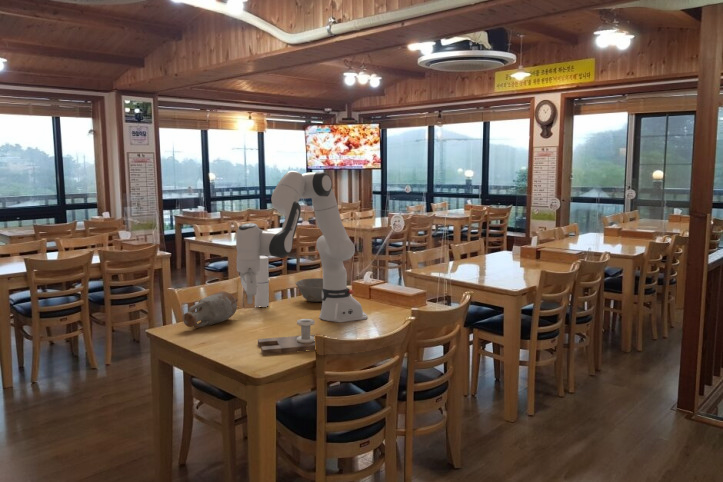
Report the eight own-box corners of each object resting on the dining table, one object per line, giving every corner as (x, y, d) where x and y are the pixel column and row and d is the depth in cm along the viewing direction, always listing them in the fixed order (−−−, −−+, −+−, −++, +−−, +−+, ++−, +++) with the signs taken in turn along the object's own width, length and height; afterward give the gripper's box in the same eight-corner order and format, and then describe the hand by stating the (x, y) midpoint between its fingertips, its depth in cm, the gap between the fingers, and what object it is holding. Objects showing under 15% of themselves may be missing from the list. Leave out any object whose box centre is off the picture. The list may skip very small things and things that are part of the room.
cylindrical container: (265, 308, 287) (265, 258, 284) (252, 307, 289) (251, 258, 285) (270, 305, 294) (270, 256, 291) (257, 304, 295) (257, 255, 292)
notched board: (316, 339, 238) (316, 334, 238) (324, 349, 225) (324, 344, 224) (257, 343, 231) (257, 339, 230) (262, 354, 217) (262, 349, 217)
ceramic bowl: (343, 297, 314) (343, 279, 312) (331, 307, 292) (331, 287, 290) (304, 294, 319) (304, 276, 317) (289, 304, 296) (289, 285, 295)
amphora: (248, 290, 269) (197, 289, 244) (248, 325, 267) (197, 328, 242) (227, 292, 276) (175, 291, 251) (227, 326, 274) (175, 328, 249)
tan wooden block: (253, 305, 225) (253, 290, 224) (254, 308, 221) (254, 292, 220) (243, 306, 224) (242, 291, 223) (244, 308, 220) (243, 293, 219)
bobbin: (312, 337, 234) (312, 318, 233) (316, 342, 227) (316, 322, 226) (295, 338, 231) (295, 319, 230) (298, 344, 225) (298, 324, 224)
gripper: (260, 270, 212) (260, 307, 213) (253, 261, 231) (253, 295, 233) (243, 271, 210) (243, 308, 212) (237, 262, 229) (237, 296, 231)
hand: (248, 301), depth 222 cm, fingers closed on tan wooden block, 4 cm apart
